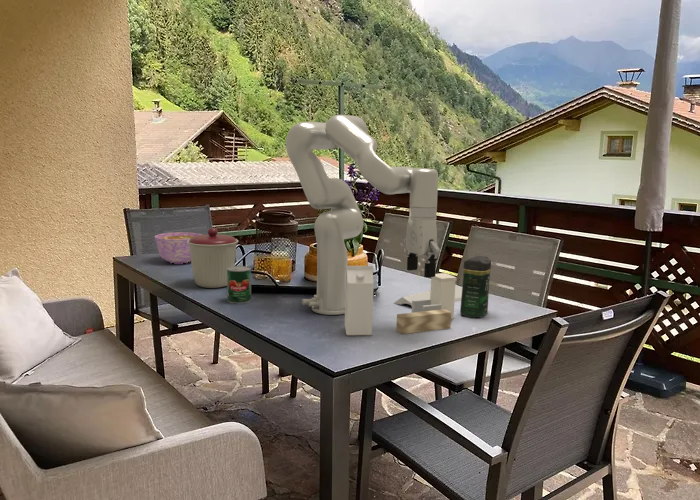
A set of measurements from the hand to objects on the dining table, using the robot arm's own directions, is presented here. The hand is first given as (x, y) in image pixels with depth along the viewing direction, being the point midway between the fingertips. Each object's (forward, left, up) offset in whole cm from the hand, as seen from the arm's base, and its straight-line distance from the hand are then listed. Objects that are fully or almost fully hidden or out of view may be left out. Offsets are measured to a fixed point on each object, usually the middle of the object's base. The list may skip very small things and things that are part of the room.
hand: (420, 273), depth 168 cm
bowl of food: (-51, +116, -17) cm, 128 cm away
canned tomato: (-41, +47, -17) cm, 65 cm away
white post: (+11, +9, -17) cm, 22 cm away
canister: (-45, +71, -17) cm, 86 cm away
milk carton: (-17, +4, -17) cm, 24 cm away
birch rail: (+2, 0, -17) cm, 17 cm away
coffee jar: (+25, +8, -17) cm, 31 cm away
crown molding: (+22, +27, -18) cm, 39 cm away
